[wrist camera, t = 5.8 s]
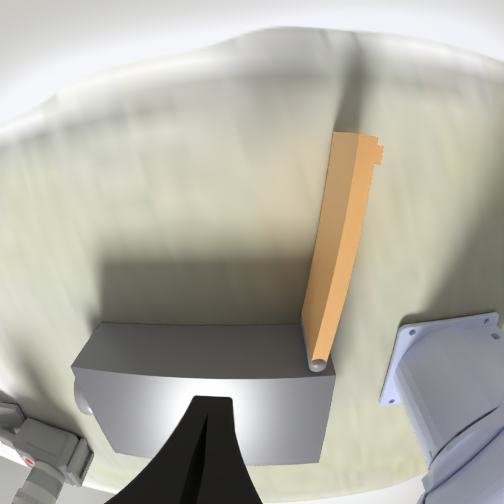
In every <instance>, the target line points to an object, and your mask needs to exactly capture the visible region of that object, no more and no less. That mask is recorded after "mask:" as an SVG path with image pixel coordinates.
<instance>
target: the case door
mask: <svg viewBox="0 0 504 504" xmlns="http://www.w3.org/2000/svg"><path fill="white" fill-rule="evenodd" d="M377 142H378V137H374V136H369V135H364V134H360V133H347V132H333V138H332V145H331V152H330V159H329V166H328V173H327V179H326V185H325V192H324V198H323V204H322V210H321V216H320V221H319V227H318V233H317V238H316V244H315V249H314V254H313V259H312V265H311V270H310V275H309V280H308V285H307V290H306V295H305V299H304V304H303V309H302V313H301V315H300V321H301V326H302V331H303V337H304V342H305V347H306V353H307V358H308V364H309V368H310V370H311V371H313V372H320V371H322V370H324V369H325V368H326V365H327V359H328V356H329V353H330V350H331V346H332V343H333V340H334V336H335V333H336V330H337V326H338V323H339V319H340V316H341V312H342V308H343V305H344V301H345V297H346V294H347V290H348V286H349V282H350V278H351V274H352V270H353V266H354V262H355V257H356V253H357V249H358V244H359V240H360V235H361V231H362V226H363V221H364V216H365V211H366V206H367V201H368V196H369V190H370V185H371V179H372V174H373V168H374V164H379V165H381V160H382V153H383V146H379V145H377Z"/></svg>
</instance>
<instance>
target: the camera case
mask: <svg viewBox="0 0 504 504" xmlns="http://www.w3.org/2000/svg"><path fill="white" fill-rule="evenodd" d="M71 369H72V371H73V373H74V375H75V382H74V396H75V401H76V404H77V406H78V408H79V410H80V411H81V412H82V413H84V414H86V415H91V416H95V418H96V420H97V422H98V424H99V426H100V427H101V429H102V431H103V433H104V435H105V436H106V438H107V440H108V442H109V443H110V445H111V447H112V448H113V450H114V452H116V453H121V454H126V455H132V456H138V457H144V458H151V459H153V458H154V457H155V455H156V454H157V453H158V452H159V450H160V449H161V448H162V446H163V445H164V444H165V442H166V441H167V440H168V438H169V437H170V435H171V434H172V432H173V431H174V429H175V428H176V426H177V425H178V423H179V421H180V420H181V418H182V417H183V415H184V413H185V411H186V410H187V408H188V406H189V404H190V402H191V400H192V398H193V397H194V396H195V395H201V396H223V397H231V398H232V399H233V409H234V421H235V433H236V437H237V441H238V445H239V448H240V451H241V455H242V458H243V460H244V463H245V466H265V465H292V464H307V463H319V459H320V454H321V450H322V445H323V441H324V436H325V431H326V427H327V422H328V417H329V411H330V406H331V401H332V395H333V390H334V384H335V378H336V374H335V370H334V366H333V362H332V359H331V355H330V353H329V356H328V359H327V365H326V368H325V369H324V370H322V371H320V372H313V371H311V370H310V368H309V364H308V358H307V353H306V347H305V342H304V337H303V331H302V326H301V324H279V325H154V324H129V323H109V322H101V323H100V324H99V326H98V327H97V329H96V330H95V332H94V333H93V334H92V336H91V337H90V339H89V340H88V342H87V343H86V345H85V346H84V347H83V349H82V350H81V352H80V353H79V355H78V356H77V358H76V359H75V361H74V362H73V364H72V365H71Z"/></svg>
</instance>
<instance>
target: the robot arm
mask: <svg viewBox="0 0 504 504" xmlns="http://www.w3.org/2000/svg"><path fill="white" fill-rule="evenodd" d="M498 320H499V314H498V313H497V312H492V313H486V314H480V315H474V316H467V317H460V318H453V319H446V320H438V321H431V322H422V323H414V324H405V325H403V326H401V327H400V328H399V330H398V334H397V338H396V342H395V346H394V350H393V354H392V358H391V362H390V366H389V369H388V373H387V376H386V380H385V383H384V387H383V390H382V393H381V396H380V400H379V402H380V405H381V406H387V405H394V404H399V403H402V404H403V406H404V409H405V411H406V414H407V416H408V418H409V421H410V423H411V426H412V428H413V431H414V433H415V436H416V438H417V441H418V443H419V446H420V448H421V451H422V454H423V456H424V459H425V462H426V464H427V467H428V470H429V472H428V473H427V474H426V476H424V477H423V478H422V482H423V486H424V489H425V492H424V493H423V494H422V495H421V497H420V498H419V500H418V502H417V504H504V332H503V331H502V330H501V329H500V328H499V327H498V326H497V323H498ZM411 330H413V331H412V332H410V331H411ZM104 504H263V503H262V501H261V500H260V498H259V496H258V494H257V492H256V490H255V487H254V485H253V483H252V481H251V479H250V476H249V474H248V471H247V469H246V466H245V463H244V460H243V458H242V455H241V451H240V448H239V445H238V441H237V437H236V433H235V421H234V409H233V399H232V398H231V397H223V396H201V395H195V396H194V397H193V398H192V400H191V402H190V404H189V406H188V408H187V410H186V411H185V413H184V415H183V417H182V418H181V420H180V421H179V423H178V425H177V426H176V428H175V429H174V431H173V432H172V434H171V435H170V437H169V438H168V440H167V441H166V442H165V444H164V445H163V446H162V448H161V449H160V450H159V452H158V453H157V454H156V455H155V457H154V458H153V459H152V460H151V461H150V463H149V464H148V465H147V466H146V467H145V468H144V469H143V470H142V471H141V472H140V473H139V474H138V475H137V476H136V477H135V478H134V479H133V480H132V481H131V482H130V483H129V484H128V485H127V486H126V487H125V488H124V489H122V490H121V491H120V492H119V493H118V494H116V495H115V496H114V497H112V498H111V499H110V500H108V501H107V502H106V503H104Z"/></svg>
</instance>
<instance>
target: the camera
mask: <svg viewBox="0 0 504 504" xmlns="http://www.w3.org/2000/svg"><path fill="white" fill-rule="evenodd" d="M0 441H1V442H2V443H3V444H5V445H7V446H9V447H11V448H12V449H14V450H16V451H17V452H18V454H19V455H20V456H21V458H22V459H23V460H24V462H25V463H26V464H27V465H28V467H30V468H32V470H31V472H30V474H29V476H28V478H27V480H26V481H25V483H24V485H23V487H22V489H21V488H19V489H18V491H17V493H16V495H15V497H14V499H13V502H12V504H55V503H56V500H57V498H58V496H59V494H60V491H61V489H62V487H63V484H64V482H65V483H68V484H71V485H76V486H77V487H81V486H82V483H83V481H84V479H85V476H86V474H87V471H88V469H89V467H90V464H91V462H92V460H93V457H94V454H93V453H90V451H89V449H88V447H87V441H86V439H85V438H81V439H80V441H79V440H78V438H77V436H76V434H73V433H70V432H67V431H64V430H61V429H59V428H56V427H53V426H50V425H48V424H45V423H42V422H40V421H37V420H35V419H32V418H27V419H25V417H24V415H23V414H22V412H21V410H20V408H19V406H18V405H15V404H9V403H2V402H0Z"/></svg>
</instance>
